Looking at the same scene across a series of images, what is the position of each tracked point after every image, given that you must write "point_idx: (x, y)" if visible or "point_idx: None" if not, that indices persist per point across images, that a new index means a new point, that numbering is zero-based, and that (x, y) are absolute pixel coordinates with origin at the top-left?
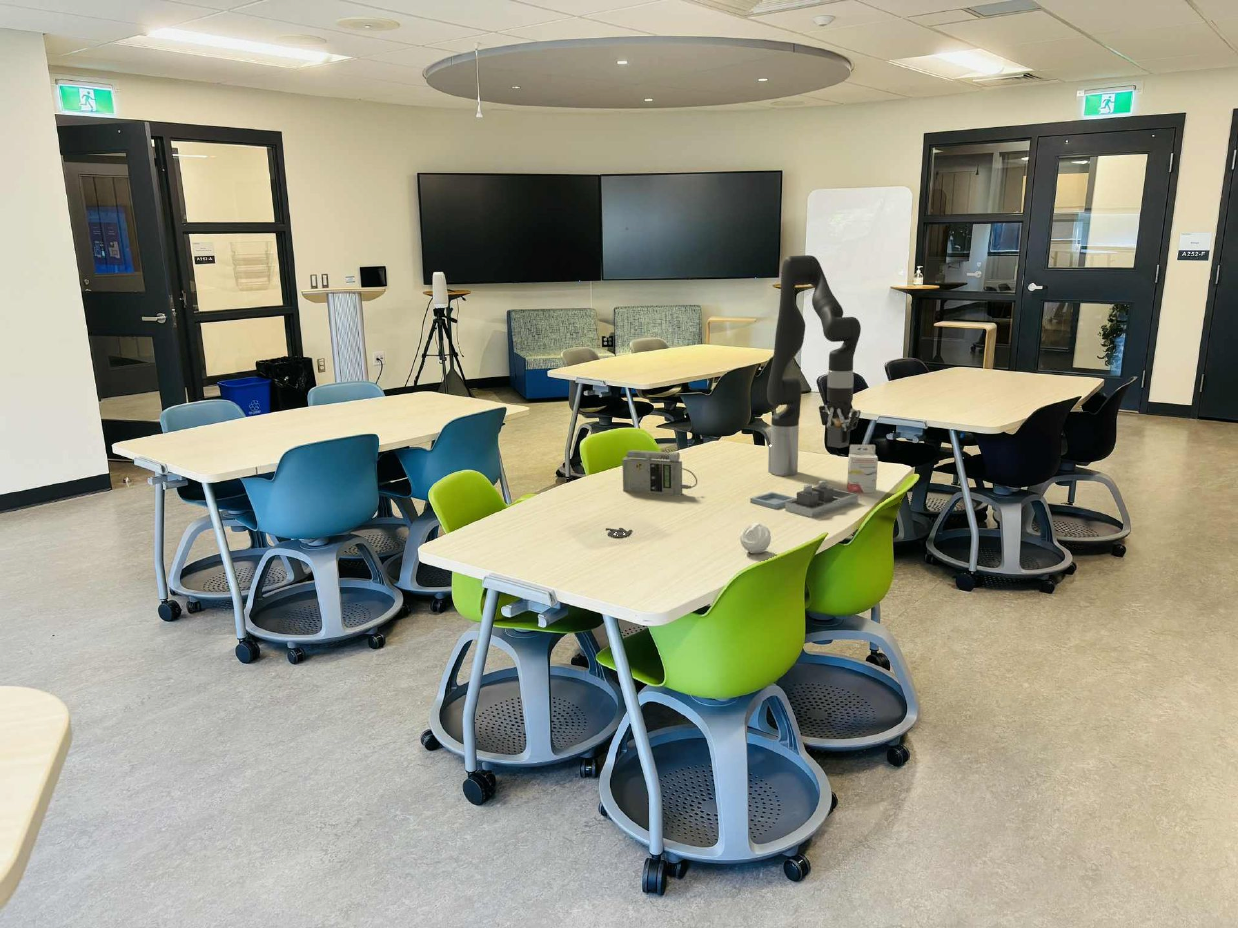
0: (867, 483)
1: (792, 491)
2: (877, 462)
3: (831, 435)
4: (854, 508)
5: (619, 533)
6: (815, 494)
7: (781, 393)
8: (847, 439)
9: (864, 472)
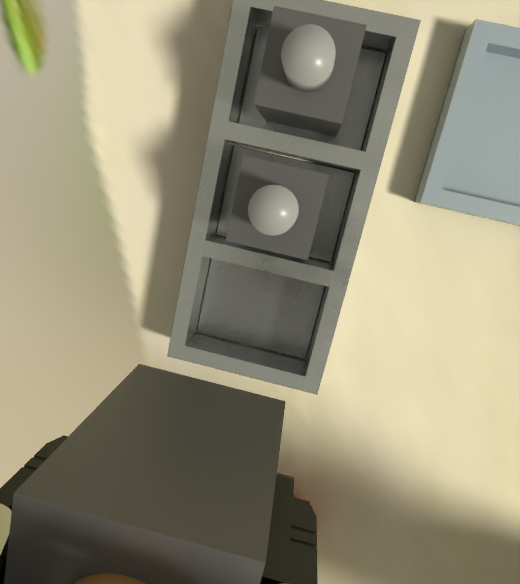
0: None
1: (516, 382)
2: None
3: (215, 454)
4: (163, 273)
5: None
6: (261, 76)
7: None
8: (43, 456)
9: None
